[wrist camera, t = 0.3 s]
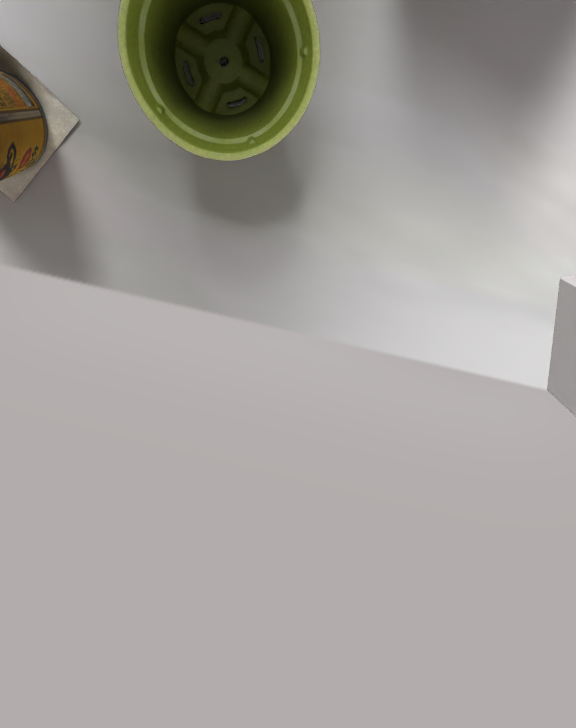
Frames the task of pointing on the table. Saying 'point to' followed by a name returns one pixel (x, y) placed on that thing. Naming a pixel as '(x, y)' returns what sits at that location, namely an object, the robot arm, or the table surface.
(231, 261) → the table surface
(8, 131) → the condiment
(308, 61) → the plant pot
